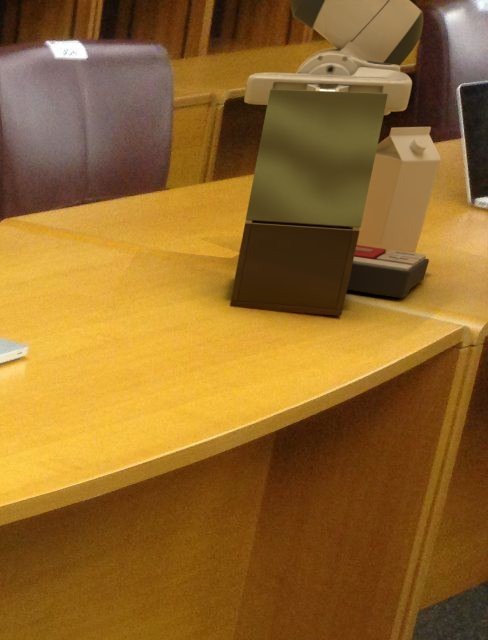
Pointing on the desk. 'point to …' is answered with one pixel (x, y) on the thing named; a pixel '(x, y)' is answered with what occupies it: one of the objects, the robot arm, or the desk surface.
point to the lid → (316, 157)
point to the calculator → (386, 271)
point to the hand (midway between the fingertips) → (326, 96)
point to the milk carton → (399, 190)
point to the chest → (294, 267)
